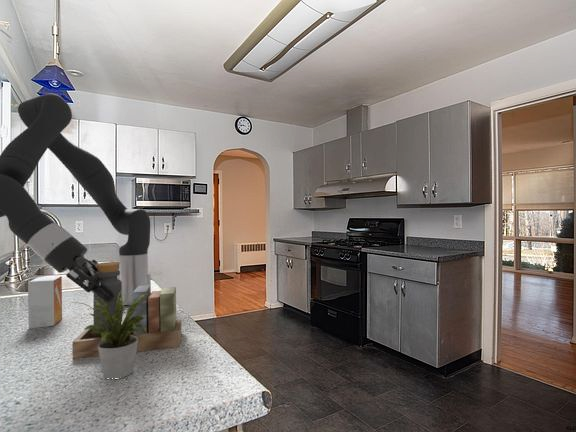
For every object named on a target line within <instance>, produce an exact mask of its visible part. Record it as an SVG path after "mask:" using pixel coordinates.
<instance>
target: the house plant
mask: <svg viewBox="0 0 576 432" xmlns="http://www.w3.org/2000/svg"><path fill="white" fill-rule="evenodd" d="M121 291H122V290H121ZM121 291H120V293H119V295H118V298H117V304H116V315H114V316H111V315H110V313H109V310H108V307H107V304H106V303H105V301H104V300H103V299H101V298H100V299H101V300H102V301H103V303H104V305H105V308H106V309H105V308H104V307H103V306H102V305H101V304H100V303H99V302H98V301H96V300H94V298H93V299H92V300H93V304H94V303H95V304H96V305H97V306H98V308H94V307H92V306H90V305H89V304H86V303H83V302H80V304H81V305H84V306H88V307H89V308H88V309H87V310H90V309H91V310H93V312H94V311H95V310H94V309H96V310H98V311H99V312H101V313H102V314H103V316H104V317H105V318H106V320H107V322H108V324H109V326H110V329H109V327H108V326H107V327H108V329H109V330H110V332H108V330H107V328H106V327H105V325H104V324H103V322H102V321H101V319H102V318H101V317H100V318H101V319H100V318H99V317H98V316H96V315H95V314H94V313H89V315H90V316H92V317H93V318H94V317H95V318H96V319H97V320H98V321H99V322H100V324H101V325H102V327H103V328H104V330H105V331H104V330H103V329H102V328H100V327H98V326H96V325H94V324H89V325H87V326H86V327H85V328H84V330H85V329H96V330H91V331H89V332H91V333H93V332H92V331H100V332H97V333H99V334H101V337H102V341H101V342H100V343H99V344H98V350H99V355H100V356H99V358H100V364H101V368H102V373H103V378H104V377H105V378H109V379H112V378H113V379H115V378H120V377H124V376H127V375H129V374H130V373H132V372H133V373H134V369H135V363H136V355H137V352H136V350H137V344H138V338H137V337H136V336H131V332H133V333H135V334H137V331H138V330H137V329H133V328H134V327H140V328H142V329H144V330H146V332H147V327H146V326H145V325H142V324H140V325H136V324H137V323H138V322H139V321H141V320H143V319H144V318H145V317H142V316H145V315H141V316H137V317H134V318H131V316H132V315H133V313H134V312H135V310H136V309H137V308H138V307H139V306H140V305H139V306H138V304H139V303H140V300H141V298H142V297H143V296H145V295H146V294H147V293H146V294H143V295H142V296H140V297H139V298H138V299H137V300H136V301H135V302H134V303H133V304H132V305H130V307H129V308H127V307H126V308H124V306H125V305H124V304H123V300H122V298H121V297H120V294H121ZM131 296H132V295H131ZM131 296H130V297H131ZM119 297H120V302H119ZM130 297H129V298H130ZM97 298H99V297H97ZM129 298H128V299H129ZM128 299H127V300H128ZM127 300H126V301H127ZM94 301H96V302H97V303H96V302H94ZM126 301H125V302H126ZM148 301H149V300H148ZM125 302H124V303H125ZM145 302H146V301H145ZM72 304H78V302H77V301H76V302H75V301H74V302H72ZM142 304H143V303H142ZM118 306H119V311H118ZM137 306H138V307H137ZM136 307H137V308H136ZM135 308H136V309H135ZM125 310H127V312H126V311H125ZM95 312H96V311H95ZM96 313H97V312H96ZM97 314H98V313H97ZM124 314H125V317H124V319H123V315H124ZM85 315H88V313H86V314H85ZM98 315H99V314H98ZM130 318H131V319H130ZM145 319H146V318H145ZM102 320H103V319H102ZM103 321H104V320H103ZM104 323H105V322H104ZM105 324H106V323H105ZM121 324H122V325H121ZM106 325H107V324H106ZM135 325H136V326H135ZM120 327H121V328H120ZM110 334H111V335H110ZM111 336H112V337H111ZM137 336H138V335H137ZM103 339H105V340H103ZM133 373H132V374H133ZM129 376H130V375H129ZM127 377H128V376H127ZM105 378H104V379H105Z"/></svg>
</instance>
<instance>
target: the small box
mask: <svg viewBox="0 0 576 432" xmlns="http://www.w3.org/2000/svg"><path fill="white" fill-rule="evenodd" d="M62 278H63V276H62V275H55V276H54V275H53V276H38V277H36V278H34V279H32V280H30V281H28V282H27V300H28V301H27V303H28V304H27V305H28V307H27V308H28V309H27V310H28V311H27V312H28V329H36V328H46V327H47V328H48V327H53V326H55V325H56V324H57V323H58V322H59V321H60V320H61V319H63V279H62Z"/></svg>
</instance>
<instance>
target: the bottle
mask: <svg viewBox="0 0 576 432" xmlns="http://www.w3.org/2000/svg"><path fill="white" fill-rule="evenodd" d="M97 263H98V264H97V269H98V271H97V272H96V273H97V274H98V279H99V280H100V281H101V282H102V284H103V285H105V286H106V287H107V288H108V289H109V290H111V291H112V292H113V293H114V294H115V297H114V298H113V299H112V300H111V301H110V302H106V301H105V300H104V301H105V303H106V304H107V307H108V310H109V313H110V315H111V316H114V315H116V304H117V298H118V295H119V293H120V291H121V290H122V282H121V280H120V278H118V276H120V269H119V262H118V261H117V262H114V261H108V262H107V261H106V262H97ZM97 297H99V298H97ZM120 297H121V298H122V291H121V294H120ZM120 297H119V302H120ZM100 298H101V297H100V296H99V295H97V294H96V293H95V292H94V293H93V299H94V300H96V301H98V302H99V303H100V304H101V305H102V306H103V307H104V308H105V305H104V303H103V301H102V300H101V299H102V298H101V299H100ZM94 300H93V308H98V306H97V305H96V304H95V303H94V302H96V301H94ZM96 303H97V302H96ZM105 309H106V308H105ZM94 310H95V311H96V312H97V313H98V314H99V315H98V314H97V313H96V312H95V311H94ZM94 310H93V314H95V315H96V316H98V317H99V318H100V317H101V318H102V319H103V320H104V321H103V320H102V319H101V318H100V319H101V321H102V322H103V324H104V325H105V327H106V328H107V330H109V329H110V326H109V324H108V322H107V320H106V318H105V317H104V316H103V314H102V313H101V312H99V311H98V310H96V309H94ZM118 311H119V306H118ZM104 322H105V323H106V324H107V325H106V324H105V323H104ZM93 325H96V326H98V327H100V328H102V329H103V330H104V328H103V327H102V325H101V324H100V322H99V321H98V320H97V319H96V318H95V317H94V316H93ZM107 326H108V327H109V329H108V327H107ZM94 330H96V329H94ZM104 331H105V330H104Z"/></svg>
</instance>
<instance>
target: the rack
mask: <svg viewBox="0 0 576 432" xmlns="http://www.w3.org/2000/svg"><path fill="white" fill-rule="evenodd" d="M151 289H152V287H151V288H150V285H145V286H138V287H137V288H136V289H135V290H134V292H133V303H134V302H135V301H136V300H137V299H138V298H139V297H140V296H142V295H143V294H146V293H147V294H146V295H145V296H143V297H142V298H141V300H140V303H139V304H138V306H139V305H140V306H139V307H138V306H137V307H138V308H137V307H136V308H137V309H136V308H135V309H136V310H135V312H134V313H133V315H132V316H131V318H134V317H137V316H141V315H145V316H142V317H145V318H146V319H145V318H144V319H143V320H141V321H139V322H138V323H137V324H136V325H140V324H142V325H145V326H146V327H147V332H146V330H144V329H142V328H140V327H134V328H133V329H137V330H138V331H137V334H135V333H133V332H131V336H136V337H137V338H138V344H137V350H136V353H137V352H143V351H144V352H145V351H155V350H162V349H163V350H164V349H165V350H166V349H173V348H179V347H180V344H179V343H181V338H180V337H181V336H182V318H177V287H176V286H169V287H168V286H167V287H163V288H162V290H153V291H152V290H151ZM148 300H149V301H148ZM145 301H146V302H145ZM142 303H143V304H142ZM131 318H130V319H131ZM121 325H122V323H121ZM136 325H135V326H136ZM120 328H121V327H120ZM91 330H94V329H85V328H84V330H83V331H82V332H81V333H79V335H78V336H77V337H76V338H75V339H74V340H73V341H72V344H71V345H72V359H80V358H88V357H89V358H90V357H98V356H99V357H100V355H99V350H98V344H99V343H100V342H101V341H102V337H101V334H99V333H97V332H100V331H92V332H93V333H91V332H89V331H91ZM108 332H110V330H108ZM110 335H111V334H110ZM137 335H138V336H137ZM111 337H112V336H111ZM103 340H105V339H103Z"/></svg>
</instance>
